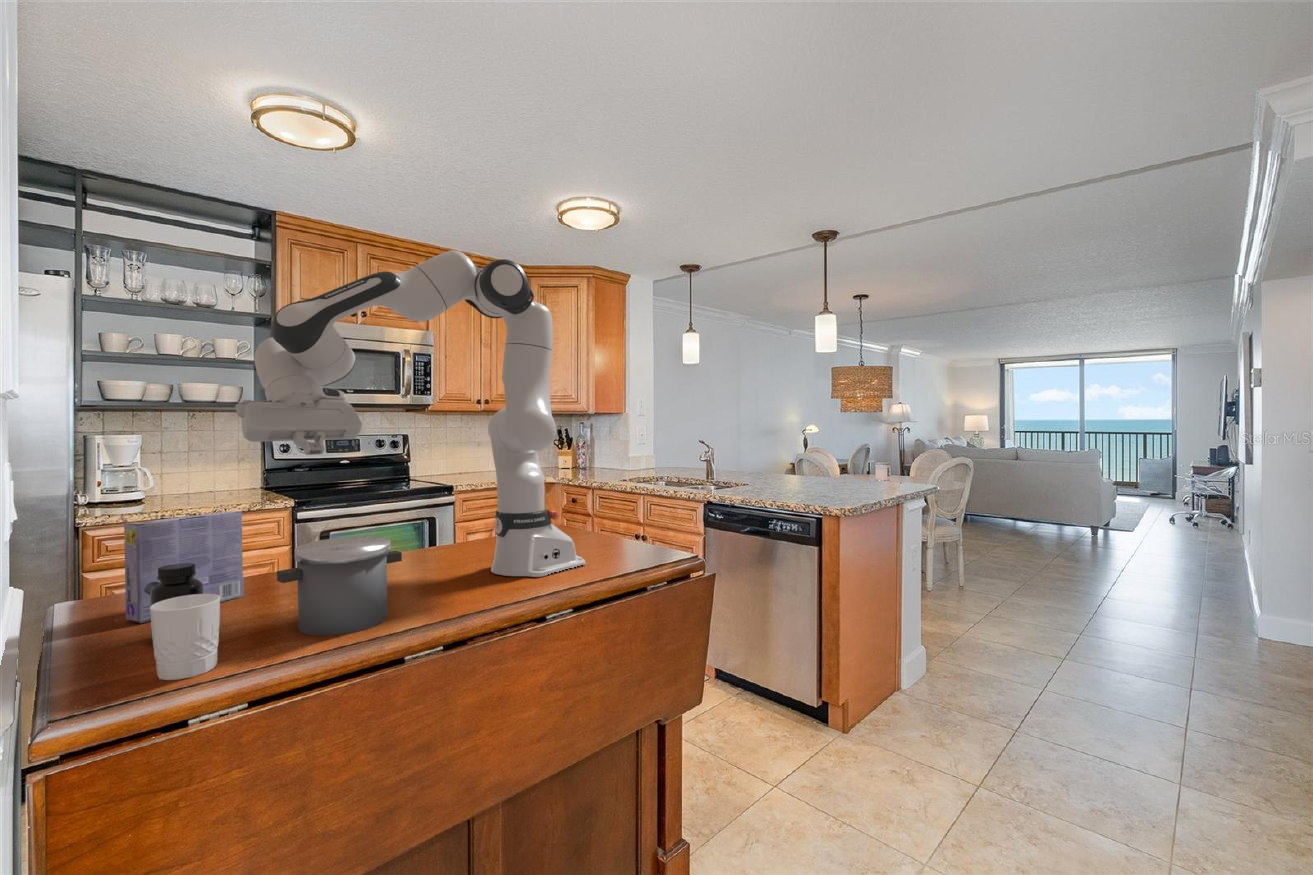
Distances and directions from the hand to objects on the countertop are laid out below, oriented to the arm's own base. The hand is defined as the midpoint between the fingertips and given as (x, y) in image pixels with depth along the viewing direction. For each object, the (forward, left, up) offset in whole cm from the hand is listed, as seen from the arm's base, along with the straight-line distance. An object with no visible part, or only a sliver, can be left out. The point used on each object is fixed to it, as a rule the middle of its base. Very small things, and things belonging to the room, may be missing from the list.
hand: (315, 452), depth 112 cm
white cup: (+20, +20, -30) cm, 41 cm away
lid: (-2, +12, -17) cm, 21 cm away
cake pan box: (+19, -16, -30) cm, 39 cm away
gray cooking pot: (-2, +11, -30) cm, 32 cm away
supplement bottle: (+21, +3, -30) cm, 37 cm away
